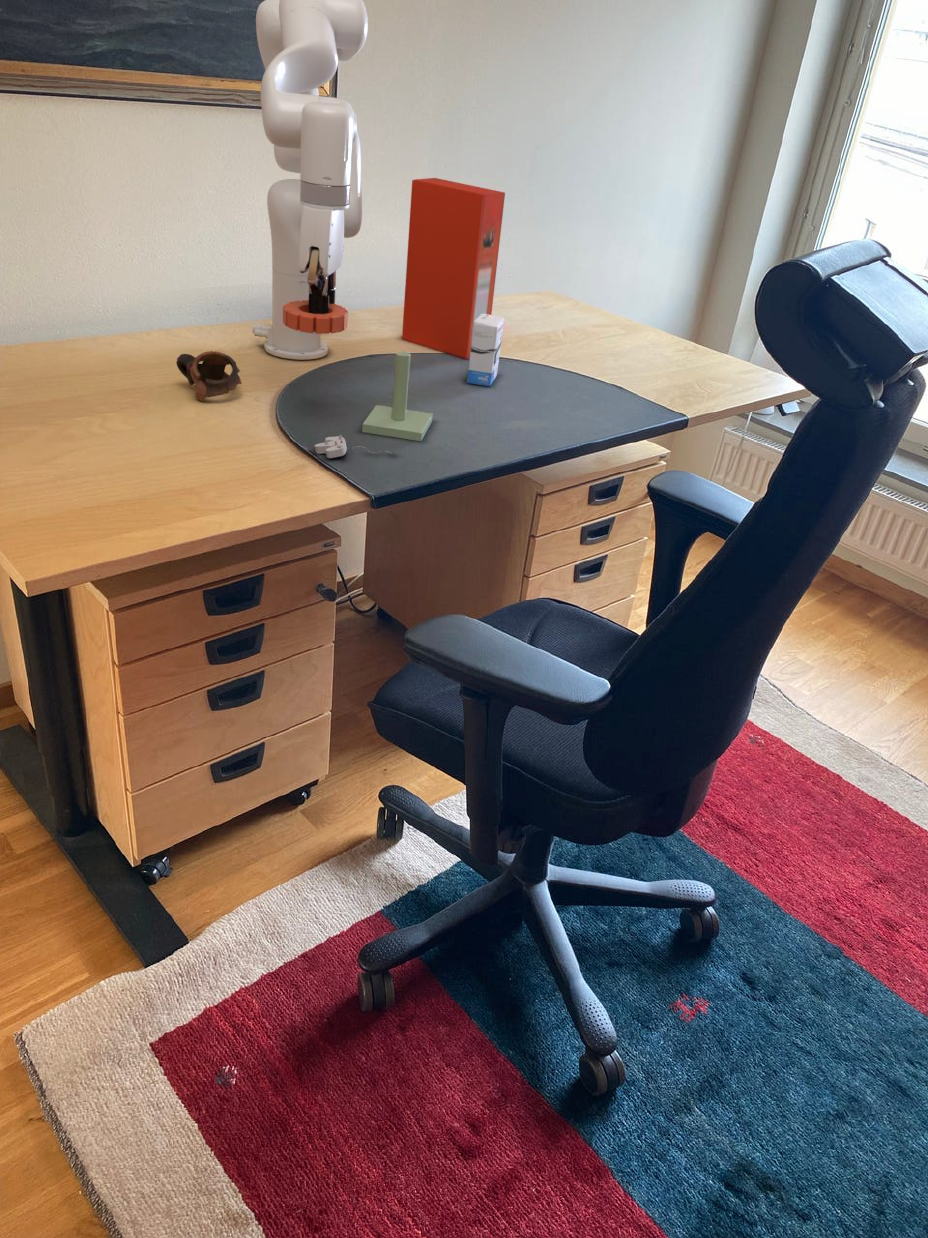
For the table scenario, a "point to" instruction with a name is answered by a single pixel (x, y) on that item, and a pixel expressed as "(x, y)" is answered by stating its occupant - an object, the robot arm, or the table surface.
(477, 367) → the ink box
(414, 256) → the file binder
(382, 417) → the post
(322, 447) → the white power plug
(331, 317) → the ring
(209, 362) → the pottery mug
